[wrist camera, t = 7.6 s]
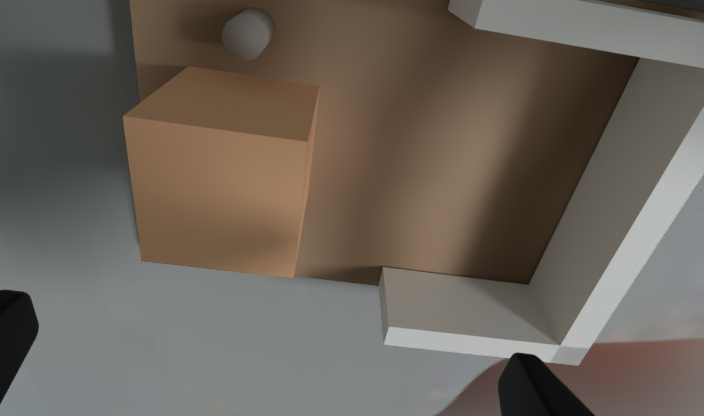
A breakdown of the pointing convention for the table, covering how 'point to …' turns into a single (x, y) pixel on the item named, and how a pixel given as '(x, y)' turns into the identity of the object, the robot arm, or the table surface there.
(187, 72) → the block
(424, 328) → the frame
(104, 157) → the table surface
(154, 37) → the seat plate
